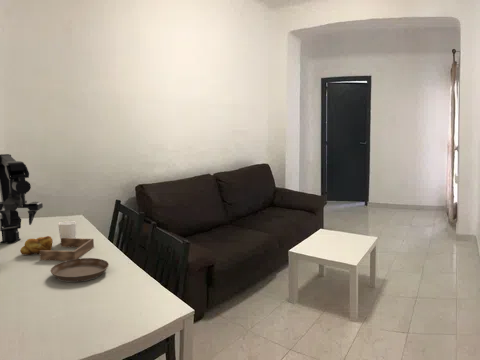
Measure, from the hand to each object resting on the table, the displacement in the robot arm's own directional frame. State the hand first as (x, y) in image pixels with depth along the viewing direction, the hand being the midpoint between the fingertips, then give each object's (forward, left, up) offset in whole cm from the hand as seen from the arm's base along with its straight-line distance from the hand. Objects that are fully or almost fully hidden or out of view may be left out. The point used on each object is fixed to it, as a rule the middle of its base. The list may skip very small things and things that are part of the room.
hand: (19, 224), depth 174 cm
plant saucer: (+38, -25, -13) cm, 47 cm away
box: (+22, -2, -12) cm, 25 cm away
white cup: (+15, +13, -12) cm, 24 cm away
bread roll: (+8, -2, -13) cm, 15 cm away
